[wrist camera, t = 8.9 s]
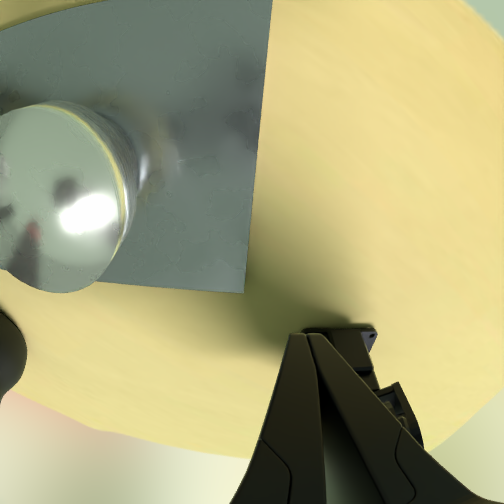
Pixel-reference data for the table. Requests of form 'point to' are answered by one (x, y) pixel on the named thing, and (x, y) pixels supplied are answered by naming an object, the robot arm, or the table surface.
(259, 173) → the table surface
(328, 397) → the robot arm
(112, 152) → the elbow
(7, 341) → the cola bottle
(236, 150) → the plate
